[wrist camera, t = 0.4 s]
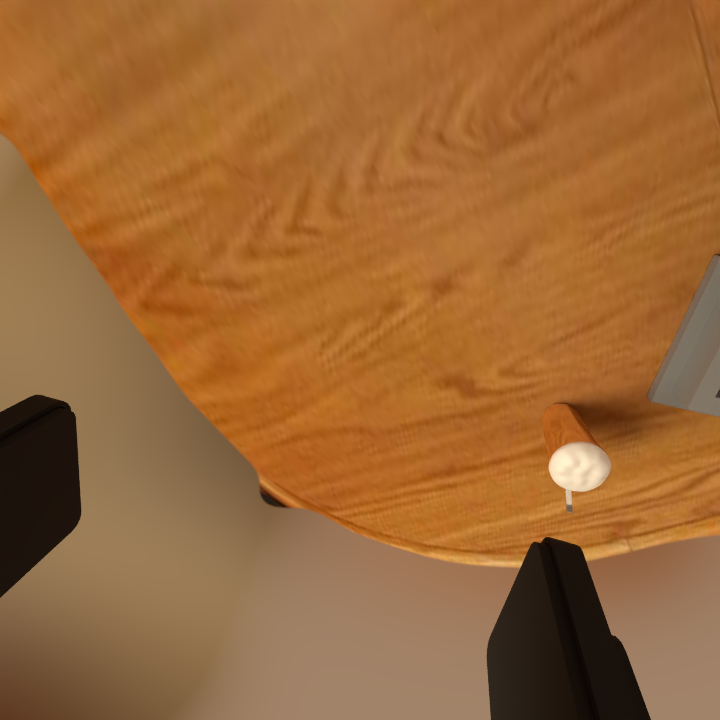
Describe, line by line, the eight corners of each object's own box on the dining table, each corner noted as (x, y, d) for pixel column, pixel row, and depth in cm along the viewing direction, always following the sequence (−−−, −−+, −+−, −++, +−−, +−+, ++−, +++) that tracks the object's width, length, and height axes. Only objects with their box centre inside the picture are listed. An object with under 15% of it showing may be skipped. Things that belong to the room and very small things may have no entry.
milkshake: (523, 437, 46) (540, 504, 37) (544, 390, 44) (567, 449, 35) (569, 450, 46) (598, 521, 37) (592, 404, 44) (628, 467, 34)
